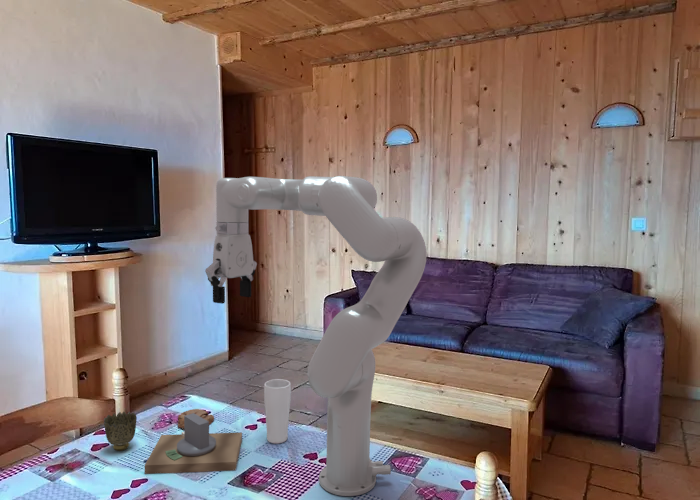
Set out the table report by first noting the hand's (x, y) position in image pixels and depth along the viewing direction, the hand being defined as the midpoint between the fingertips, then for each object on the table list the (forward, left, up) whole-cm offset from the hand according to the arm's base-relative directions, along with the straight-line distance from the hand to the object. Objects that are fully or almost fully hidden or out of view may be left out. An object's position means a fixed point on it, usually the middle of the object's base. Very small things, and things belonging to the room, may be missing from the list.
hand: (232, 299), depth 125 cm
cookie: (+12, -15, -38) cm, 42 cm away
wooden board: (+8, +4, -37) cm, 38 cm away
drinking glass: (-11, -3, -38) cm, 39 cm away
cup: (+27, -1, -38) cm, 46 cm away
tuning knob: (+9, +4, -35) cm, 36 cm away
